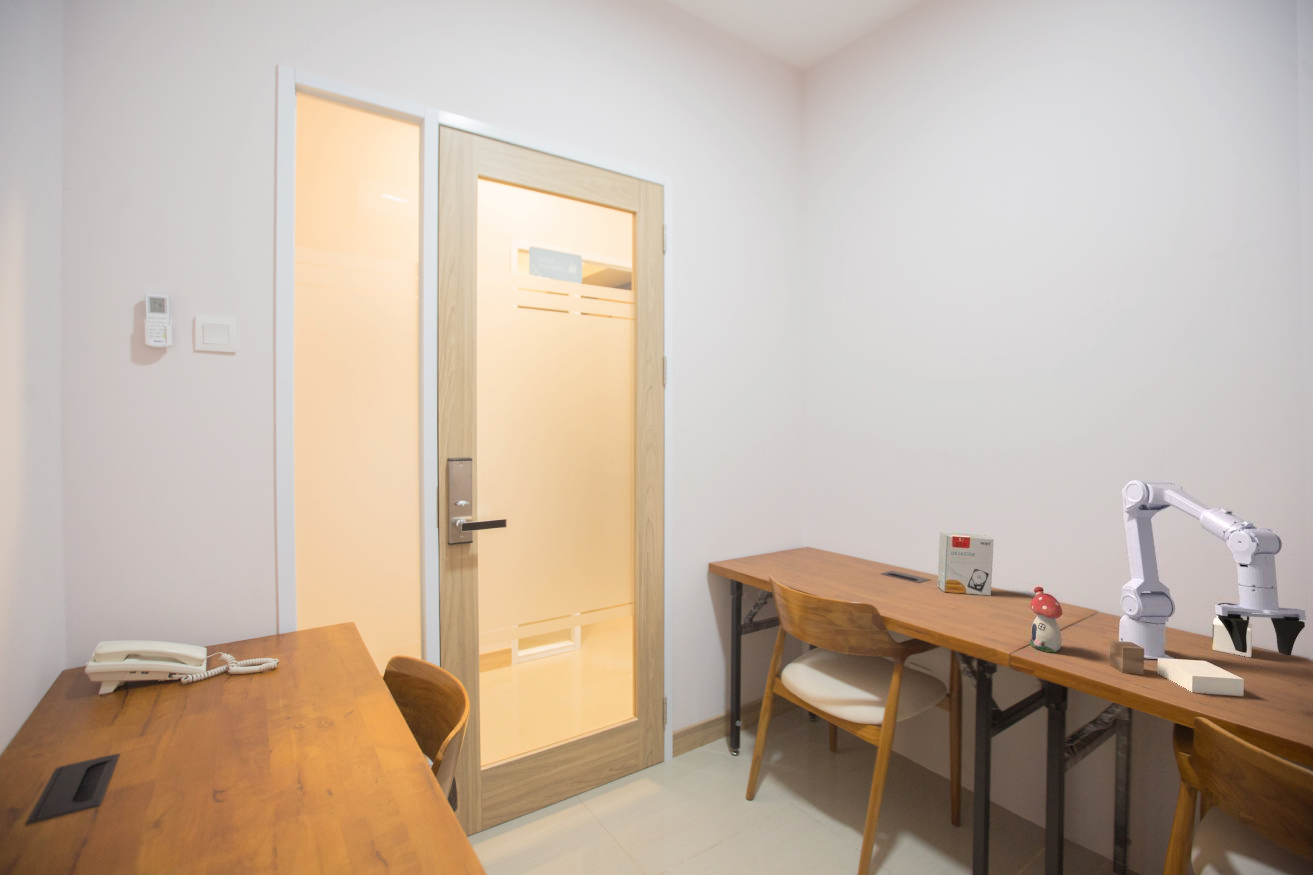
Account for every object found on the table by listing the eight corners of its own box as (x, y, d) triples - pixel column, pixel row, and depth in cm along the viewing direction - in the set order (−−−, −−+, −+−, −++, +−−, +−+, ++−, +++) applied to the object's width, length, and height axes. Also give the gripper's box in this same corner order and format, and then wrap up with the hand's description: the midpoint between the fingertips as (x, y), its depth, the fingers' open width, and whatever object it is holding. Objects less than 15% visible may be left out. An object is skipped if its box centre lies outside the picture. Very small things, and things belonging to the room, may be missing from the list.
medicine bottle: (1213, 643, 156) (1214, 599, 156) (1251, 651, 151) (1252, 605, 150) (1212, 650, 151) (1213, 604, 151) (1251, 658, 146) (1252, 610, 145)
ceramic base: (1157, 674, 135) (1157, 657, 135) (1204, 677, 133) (1205, 660, 133) (1191, 694, 125) (1192, 675, 125) (1243, 697, 123) (1243, 679, 123)
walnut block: (1109, 665, 139) (1110, 640, 139) (1130, 666, 138) (1130, 641, 138) (1122, 672, 134) (1123, 647, 134) (1143, 674, 134) (1144, 648, 134)
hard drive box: (943, 592, 201) (945, 535, 200) (936, 587, 208) (938, 531, 208) (992, 595, 198) (993, 537, 198) (983, 589, 206) (985, 534, 205)
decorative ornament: (1026, 639, 155) (1027, 583, 155) (1055, 643, 153) (1056, 586, 153) (1034, 651, 147) (1036, 592, 146) (1065, 655, 144) (1067, 595, 144)
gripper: (1230, 587, 119) (1235, 655, 118) (1316, 590, 116) (1322, 660, 115) (1206, 582, 126) (1210, 646, 125) (1286, 585, 123) (1292, 651, 122)
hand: (1262, 652), depth 120 cm, fingers open, 7 cm apart
